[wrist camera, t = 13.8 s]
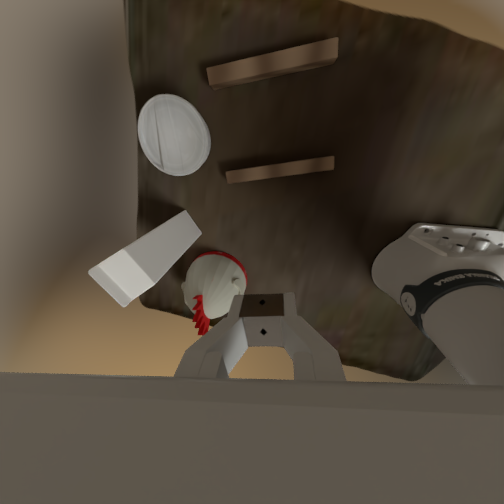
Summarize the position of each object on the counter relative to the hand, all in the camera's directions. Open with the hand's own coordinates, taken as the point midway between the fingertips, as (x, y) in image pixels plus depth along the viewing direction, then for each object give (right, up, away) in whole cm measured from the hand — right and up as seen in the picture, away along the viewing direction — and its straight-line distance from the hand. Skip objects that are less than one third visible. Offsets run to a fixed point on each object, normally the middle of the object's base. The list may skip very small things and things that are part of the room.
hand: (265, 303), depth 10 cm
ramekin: (-13, +23, +26) cm, 36 cm away
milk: (-15, +8, +33) cm, 37 cm away
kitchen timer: (-9, -3, +38) cm, 39 cm away
